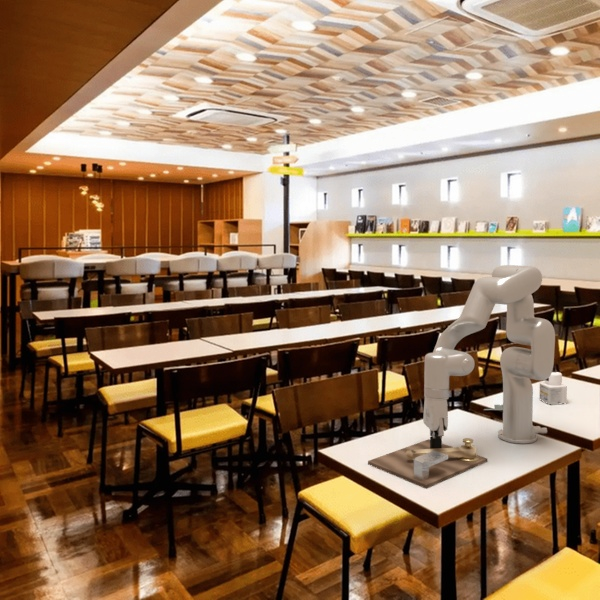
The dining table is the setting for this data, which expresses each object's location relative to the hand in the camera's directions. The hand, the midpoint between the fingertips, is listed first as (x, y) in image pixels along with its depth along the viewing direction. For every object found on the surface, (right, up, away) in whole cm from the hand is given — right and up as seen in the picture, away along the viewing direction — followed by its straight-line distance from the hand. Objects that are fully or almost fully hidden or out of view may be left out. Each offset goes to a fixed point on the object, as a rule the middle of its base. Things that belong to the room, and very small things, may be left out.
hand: (435, 449), depth 175 cm
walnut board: (-3, -3, -3) cm, 5 cm away
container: (+63, +4, +57) cm, 85 cm away
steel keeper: (-5, -4, -13) cm, 14 cm away
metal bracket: (+39, +2, +44) cm, 59 cm away
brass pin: (+10, -3, -2) cm, 10 cm away
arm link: (+1, -2, -3) cm, 3 cm away
